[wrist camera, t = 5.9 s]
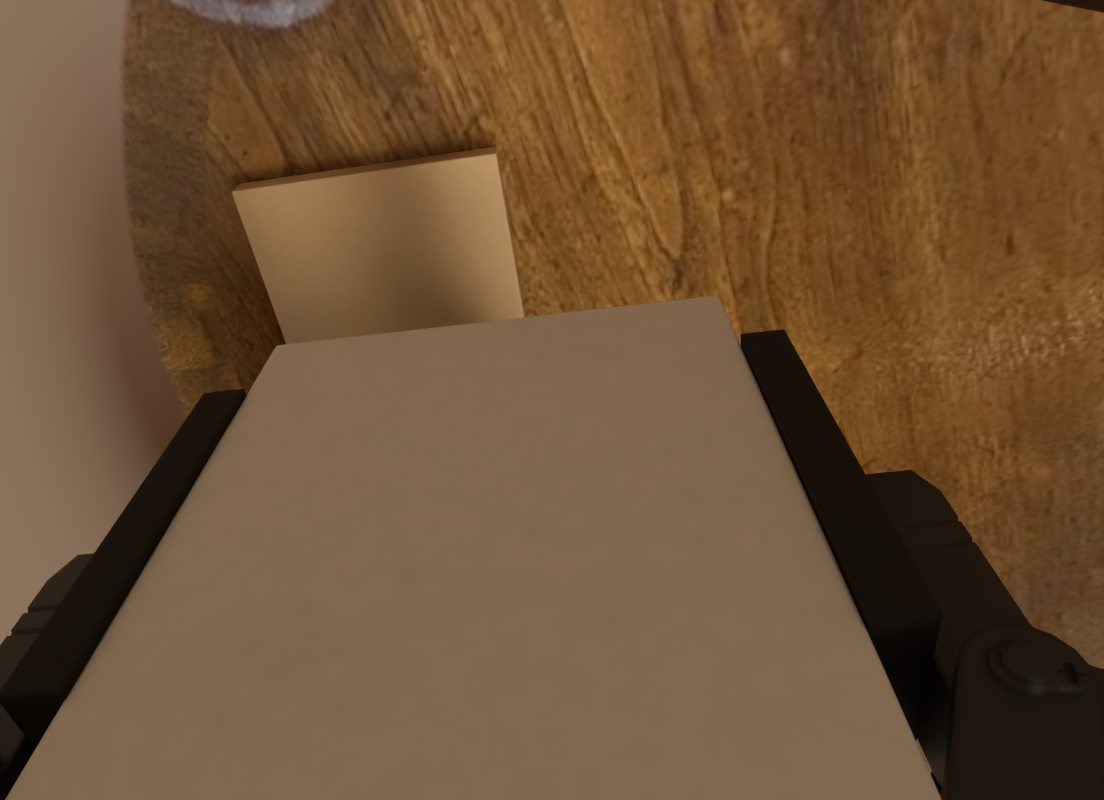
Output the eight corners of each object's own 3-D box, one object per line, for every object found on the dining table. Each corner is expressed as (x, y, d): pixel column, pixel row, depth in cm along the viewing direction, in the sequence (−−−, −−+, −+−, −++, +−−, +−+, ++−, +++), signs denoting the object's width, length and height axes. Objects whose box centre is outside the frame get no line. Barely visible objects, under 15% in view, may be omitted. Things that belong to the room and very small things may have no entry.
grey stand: (368, 548, 40) (299, 817, 29) (238, 183, 30) (50, 366, 18) (562, 525, 40) (574, 790, 28) (497, 145, 30) (473, 309, 18)
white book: (309, 443, 17) (-87, 1370, 6) (274, 344, 16) (-301, 1298, 5) (720, 399, 17) (1048, 1323, 6) (718, 294, 16) (1139, 1233, 5)
